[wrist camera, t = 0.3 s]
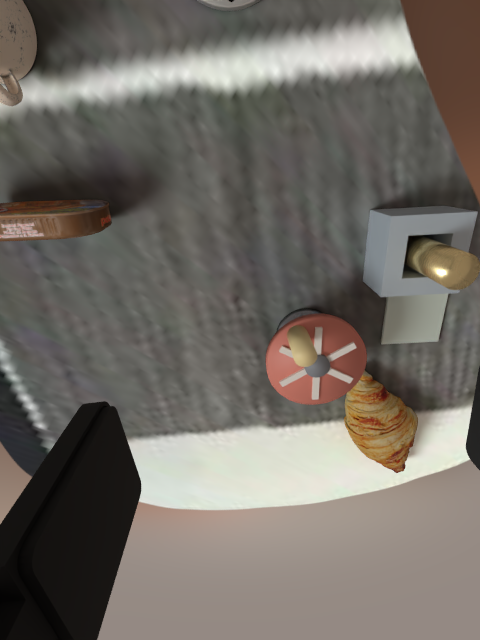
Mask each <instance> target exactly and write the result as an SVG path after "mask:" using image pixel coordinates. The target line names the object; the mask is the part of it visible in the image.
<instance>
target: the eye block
mask: <svg viewBox="0 0 480 640" xmlns="http://www.w3.org/2000/svg"><path fill="white" fill-rule="evenodd" d="M477 213H478V211H472V210H467V209H461V208H456V207H450V206H428V207H410V208H393V209H375V210H370V216H369V225H368V235H367V245H366V254H365V264H364V273H363V282H364V283H365V284H367V285H368V286H369V287H370V288H371V289H372V290H373V291H374V292H376V293H377V294H378V295H379V296H380V297H392V296H411V295H429V294H448V293H459V291H460V290H450V289H448V288H446V287H444V286H442V285H441V284H439V283H437V282H435V281H433V280H432V279H430V278H428V277H426V276H425V275H423V274H421V273H419V272H418V271H416V270H414V269H412V268H411V267H409V266H407V265H405V264H404V260H405V254H406V247H407V241H408V236H411V235H422V236H424V237H427V238H429V239H432V240H435V241H438V242H440V243H443V244H446V245H449V246H451V247H454V248H457V249H460V250H462V251H465V252H469V248H470V243H471V239H472V235H473V230H474V226H475V222H476V217H477Z"/></svg>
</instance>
